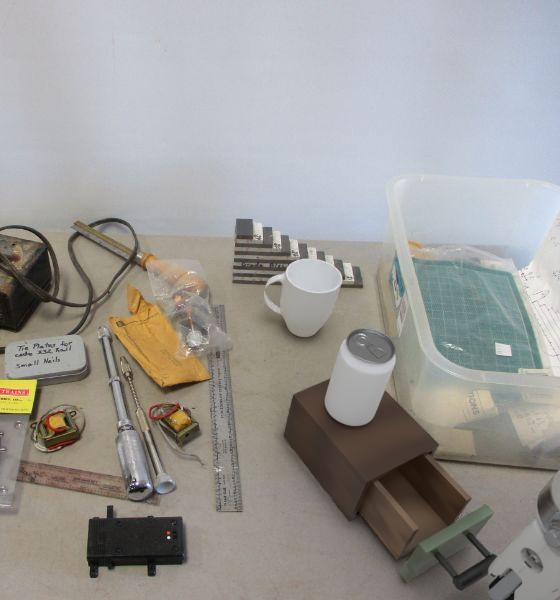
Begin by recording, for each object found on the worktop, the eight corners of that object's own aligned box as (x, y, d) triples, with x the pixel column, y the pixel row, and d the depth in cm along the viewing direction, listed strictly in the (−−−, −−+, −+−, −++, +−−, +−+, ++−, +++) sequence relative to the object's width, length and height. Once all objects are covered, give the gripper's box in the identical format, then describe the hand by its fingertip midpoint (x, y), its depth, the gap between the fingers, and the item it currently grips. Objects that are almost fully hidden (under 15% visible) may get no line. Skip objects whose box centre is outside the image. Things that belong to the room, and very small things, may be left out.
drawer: (498, 574, 70) (526, 544, 64) (433, 616, 66) (457, 588, 61) (392, 458, 81) (408, 424, 76) (332, 489, 78) (345, 456, 73)
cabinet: (417, 485, 79) (439, 444, 73) (349, 521, 76) (366, 482, 69) (346, 406, 89) (360, 364, 83) (282, 435, 85) (292, 394, 79)
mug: (329, 315, 104) (343, 261, 96) (326, 350, 97) (341, 297, 89) (263, 303, 106) (271, 250, 98) (256, 337, 100) (264, 284, 92)
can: (346, 380, 80) (367, 317, 72) (384, 411, 77) (411, 349, 68) (313, 403, 78) (331, 340, 69) (351, 436, 74) (375, 374, 66)
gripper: (570, 598, 45) (482, 669, 58) (688, 516, 50) (583, 597, 63) (491, 515, 50) (425, 597, 63) (605, 447, 55) (523, 536, 68)
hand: (504, 597), depth 63 cm, fingers closed
